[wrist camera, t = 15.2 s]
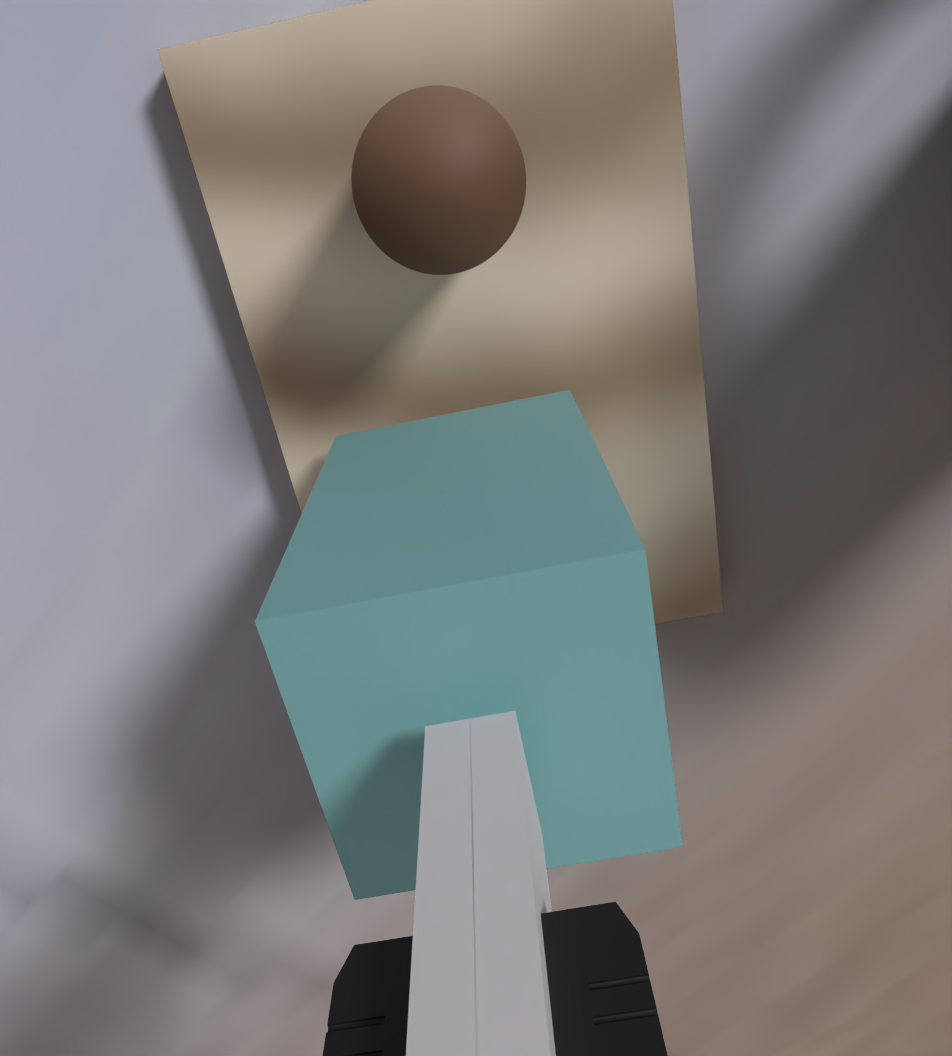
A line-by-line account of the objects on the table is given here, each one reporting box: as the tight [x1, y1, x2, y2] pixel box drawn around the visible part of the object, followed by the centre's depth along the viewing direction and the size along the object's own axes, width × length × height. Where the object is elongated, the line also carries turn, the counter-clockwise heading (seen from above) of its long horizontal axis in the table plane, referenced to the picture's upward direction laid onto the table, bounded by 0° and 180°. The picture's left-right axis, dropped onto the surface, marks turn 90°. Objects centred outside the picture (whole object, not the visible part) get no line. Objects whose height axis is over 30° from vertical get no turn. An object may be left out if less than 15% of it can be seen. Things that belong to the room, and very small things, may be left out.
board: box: [157, 0, 723, 624], centre depth 19 cm, size 18×12×11 cm, turn 11°
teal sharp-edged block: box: [255, 390, 683, 900], centre depth 19 cm, size 6×6×10 cm
